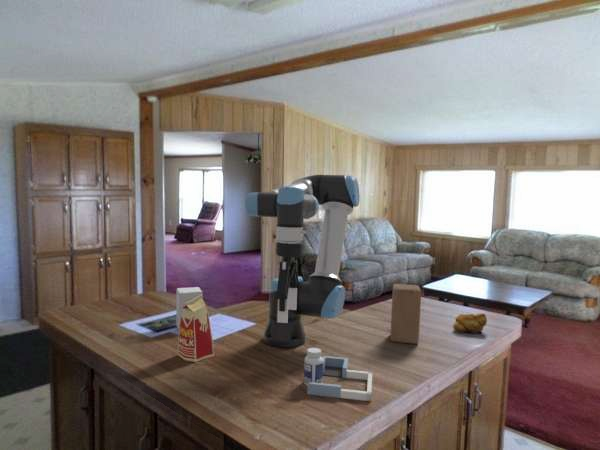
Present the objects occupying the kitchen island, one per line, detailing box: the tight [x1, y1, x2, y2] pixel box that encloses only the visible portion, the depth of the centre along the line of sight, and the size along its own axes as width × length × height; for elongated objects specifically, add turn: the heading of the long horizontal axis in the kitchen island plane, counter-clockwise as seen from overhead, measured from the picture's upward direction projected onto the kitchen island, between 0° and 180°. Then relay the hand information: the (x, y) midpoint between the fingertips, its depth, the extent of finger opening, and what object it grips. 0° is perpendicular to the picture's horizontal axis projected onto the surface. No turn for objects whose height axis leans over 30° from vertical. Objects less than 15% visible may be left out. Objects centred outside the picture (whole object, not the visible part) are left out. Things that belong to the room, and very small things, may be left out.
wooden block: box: [390, 283, 422, 345], centre depth 168 cm, size 10×10×20 cm
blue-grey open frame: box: [306, 355, 350, 399], centre depth 131 cm, size 10×21×3 cm, turn 170°
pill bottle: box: [303, 347, 324, 387], centre depth 128 cm, size 5×5×10 cm
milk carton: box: [177, 294, 215, 363], centre depth 146 cm, size 9×9×20 cm
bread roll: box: [452, 313, 488, 334], centre depth 182 cm, size 13×10×8 cm
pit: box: [323, 366, 343, 378], centre depth 137 cm, size 6×7×1 cm
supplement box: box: [175, 286, 204, 331], centre depth 175 cm, size 9×9×15 cm
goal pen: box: [340, 369, 373, 402], centre depth 127 cm, size 8×14×2 cm, turn 170°
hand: (287, 315), depth 129 cm, fingers open, 13 cm apart
